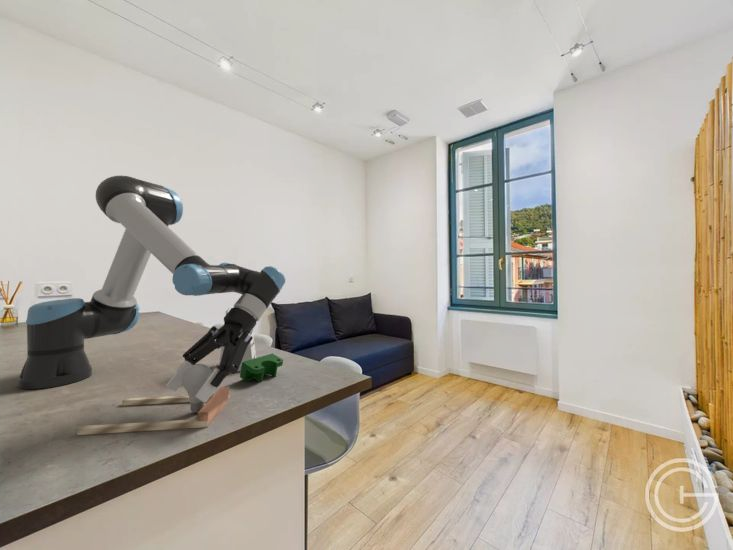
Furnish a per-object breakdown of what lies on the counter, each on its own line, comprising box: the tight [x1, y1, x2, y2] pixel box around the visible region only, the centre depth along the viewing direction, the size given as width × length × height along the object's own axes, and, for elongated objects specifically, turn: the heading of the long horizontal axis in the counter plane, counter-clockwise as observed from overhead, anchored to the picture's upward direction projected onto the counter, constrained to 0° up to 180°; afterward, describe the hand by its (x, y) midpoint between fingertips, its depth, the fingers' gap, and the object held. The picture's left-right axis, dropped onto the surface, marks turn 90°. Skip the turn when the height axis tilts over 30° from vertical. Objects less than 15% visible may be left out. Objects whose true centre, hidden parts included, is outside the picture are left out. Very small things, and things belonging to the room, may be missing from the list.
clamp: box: [239, 353, 284, 383], centre depth 92 cm, size 12×6×9 cm, turn 142°
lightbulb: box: [182, 363, 213, 414], centre depth 69 cm, size 6×6×11 cm
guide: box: [77, 386, 230, 436], centre depth 68 cm, size 24×14×3 cm, turn 98°
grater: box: [217, 306, 257, 372], centre depth 102 cm, size 10×10×20 cm
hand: (184, 394), depth 66 cm, fingers open, 11 cm apart
